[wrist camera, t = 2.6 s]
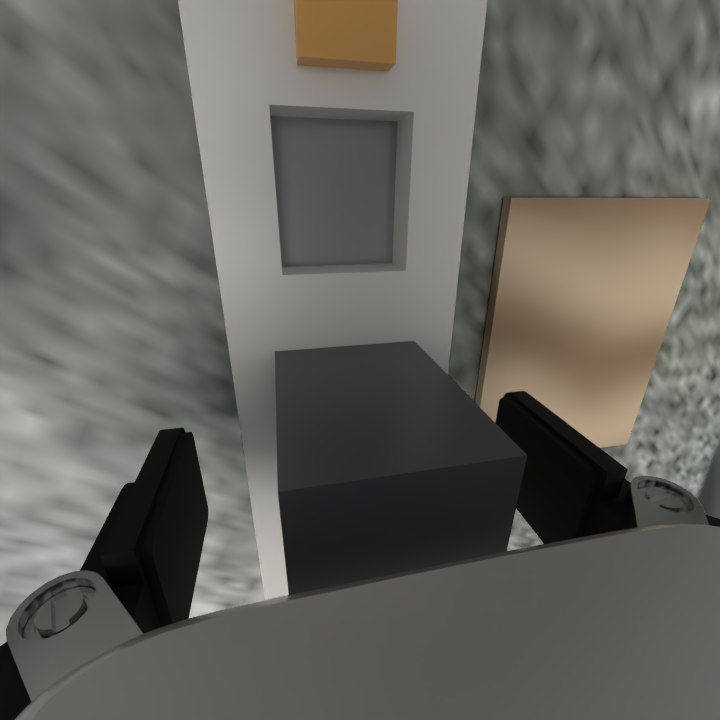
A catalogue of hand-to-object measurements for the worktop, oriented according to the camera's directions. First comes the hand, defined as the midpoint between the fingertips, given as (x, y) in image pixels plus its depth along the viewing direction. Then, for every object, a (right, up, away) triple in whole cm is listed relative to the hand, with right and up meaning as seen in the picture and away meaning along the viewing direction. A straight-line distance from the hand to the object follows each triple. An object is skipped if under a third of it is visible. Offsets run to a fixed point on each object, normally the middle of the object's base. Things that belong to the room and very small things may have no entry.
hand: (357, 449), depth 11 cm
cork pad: (+10, +4, +6) cm, 12 cm away
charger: (-1, +1, +3) cm, 3 cm away
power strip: (-1, +4, +3) cm, 5 cm away
